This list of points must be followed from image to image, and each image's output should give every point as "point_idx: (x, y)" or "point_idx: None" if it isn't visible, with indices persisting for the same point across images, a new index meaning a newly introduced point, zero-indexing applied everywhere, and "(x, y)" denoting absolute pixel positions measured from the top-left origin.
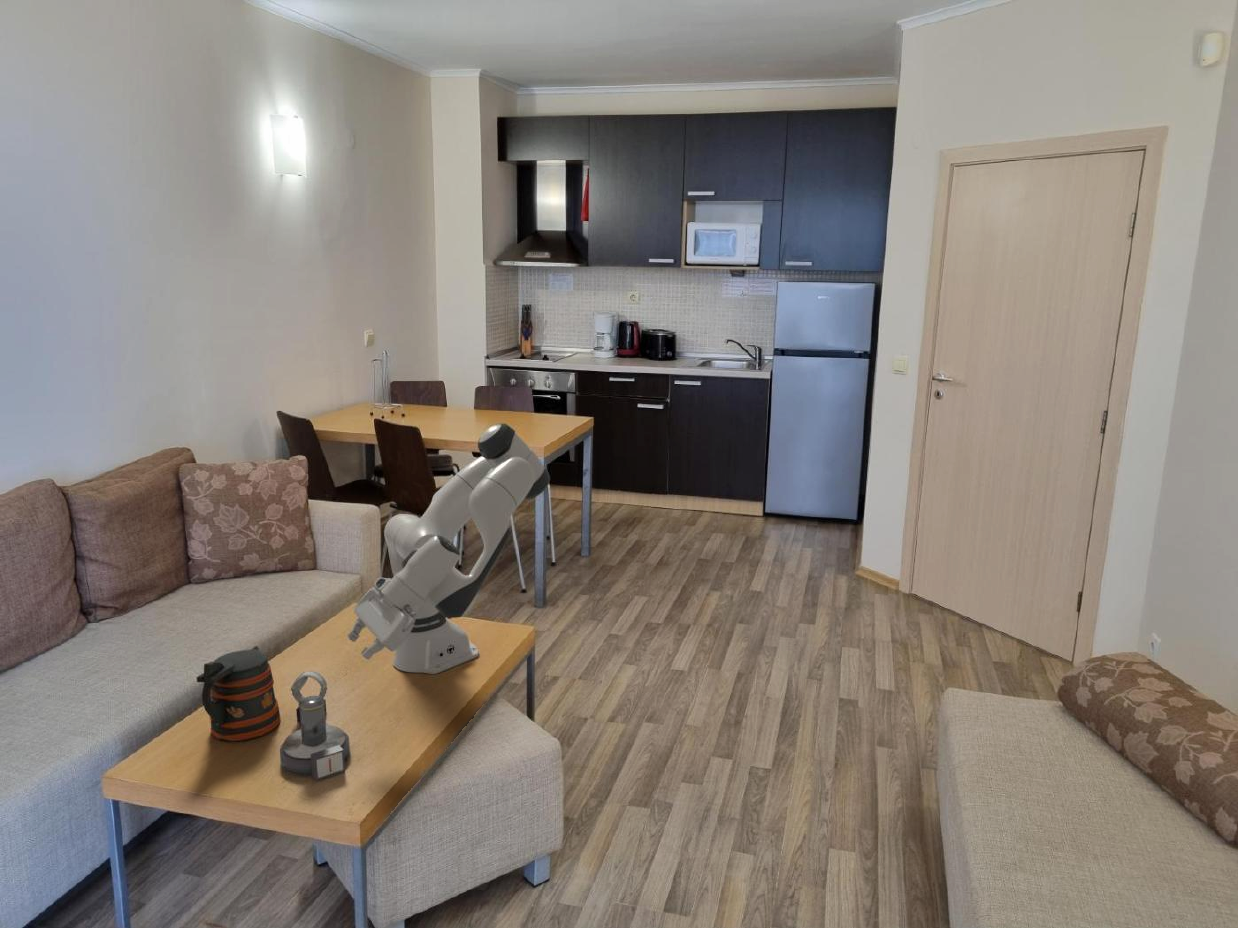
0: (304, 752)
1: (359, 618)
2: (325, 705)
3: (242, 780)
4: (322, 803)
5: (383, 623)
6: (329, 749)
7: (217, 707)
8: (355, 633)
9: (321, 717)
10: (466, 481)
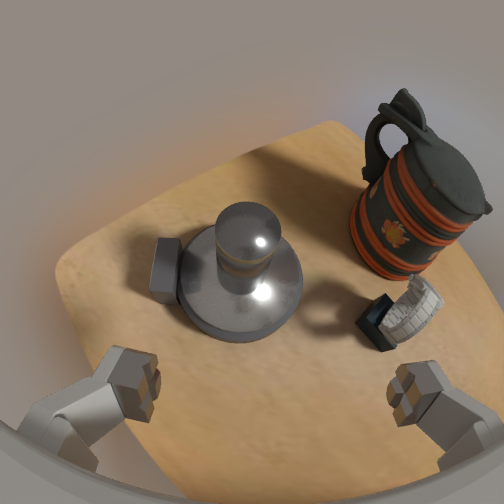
0: (208, 242)
1: (500, 439)
2: (387, 349)
3: (244, 185)
4: (110, 242)
5: None
6: (170, 271)
7: (374, 155)
8: (413, 403)
9: (218, 258)
10: None
